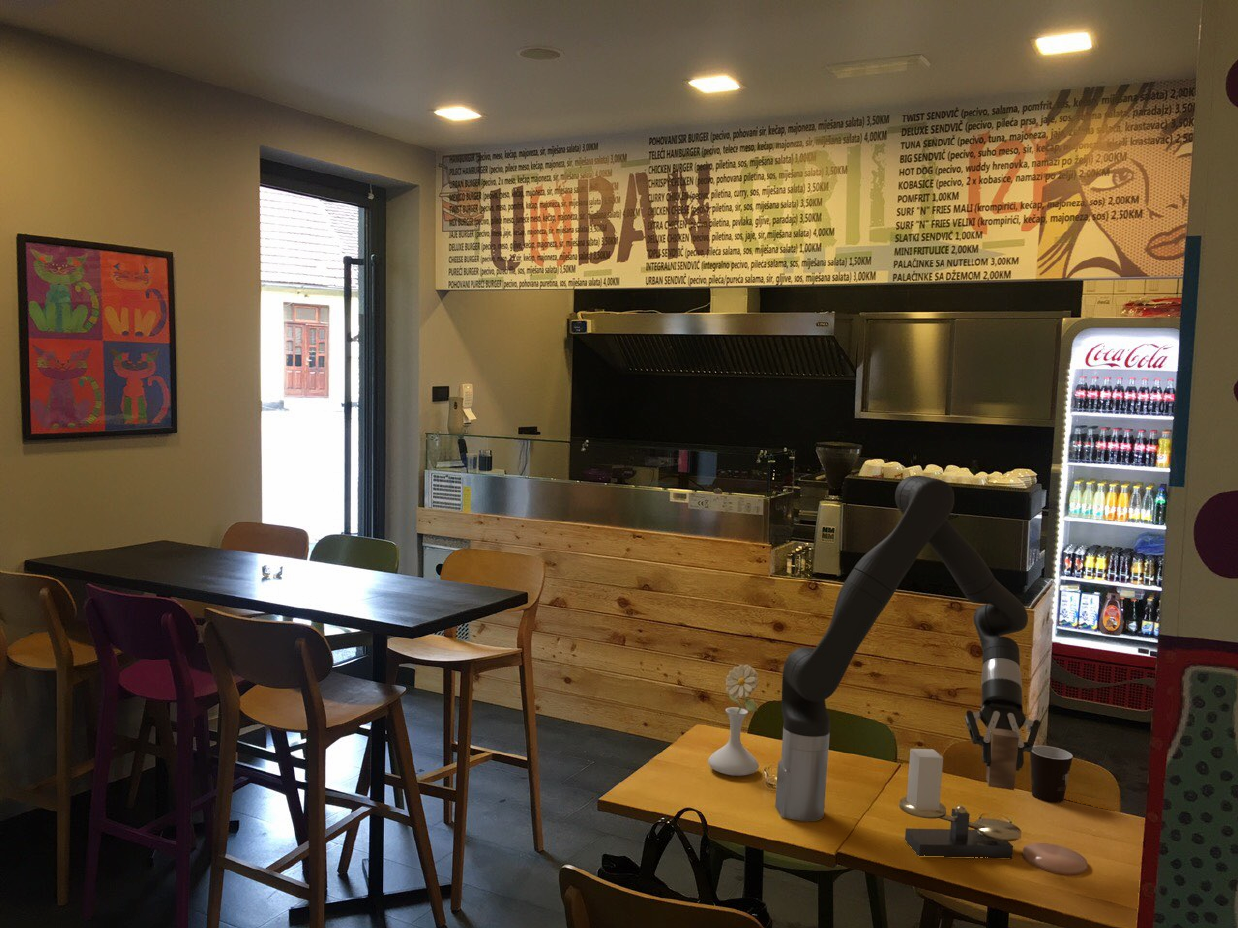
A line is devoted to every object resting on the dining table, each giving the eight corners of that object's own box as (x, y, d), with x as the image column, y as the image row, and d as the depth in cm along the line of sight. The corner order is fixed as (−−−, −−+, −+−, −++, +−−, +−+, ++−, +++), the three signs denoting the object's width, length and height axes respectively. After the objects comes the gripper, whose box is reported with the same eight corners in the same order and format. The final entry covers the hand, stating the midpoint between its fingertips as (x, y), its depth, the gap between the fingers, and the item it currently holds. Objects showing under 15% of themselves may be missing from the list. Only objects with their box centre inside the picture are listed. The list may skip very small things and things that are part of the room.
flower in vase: (698, 764, 228) (705, 656, 226) (741, 759, 232) (747, 653, 231) (728, 785, 216) (735, 671, 214) (772, 780, 221) (780, 668, 219)
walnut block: (988, 786, 188) (993, 734, 187) (986, 778, 192) (990, 727, 192) (1014, 790, 187) (1018, 737, 186) (1010, 781, 191) (1015, 730, 191)
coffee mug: (1050, 806, 214) (1054, 761, 213) (1017, 792, 222) (1021, 747, 221) (1086, 799, 219) (1090, 755, 219) (1053, 785, 227) (1057, 742, 226)
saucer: (1041, 874, 181) (1041, 868, 181) (1012, 847, 192) (1012, 842, 192) (1099, 874, 182) (1099, 869, 182) (1066, 848, 193) (1067, 843, 193)
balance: (906, 858, 184) (909, 813, 184) (889, 839, 193) (893, 795, 192) (1027, 860, 186) (1031, 816, 186) (1006, 841, 195) (1009, 798, 194)
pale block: (915, 809, 186) (919, 756, 185) (906, 800, 190) (910, 748, 190) (939, 810, 186) (943, 757, 186) (929, 800, 191) (933, 749, 190)
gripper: (966, 672, 198) (965, 751, 187) (1043, 682, 194) (1047, 763, 183) (961, 691, 203) (960, 769, 192) (1036, 701, 199) (1040, 781, 188)
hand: (1003, 766), depth 188 cm, fingers closed on walnut block, 4 cm apart
